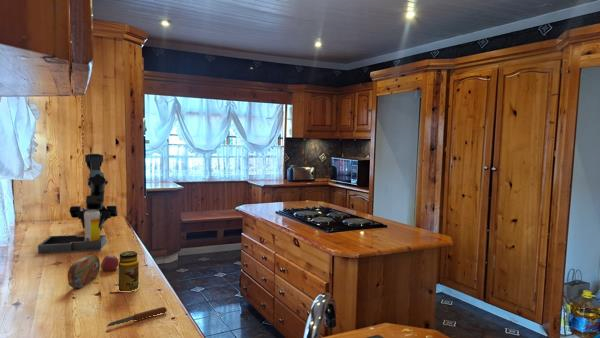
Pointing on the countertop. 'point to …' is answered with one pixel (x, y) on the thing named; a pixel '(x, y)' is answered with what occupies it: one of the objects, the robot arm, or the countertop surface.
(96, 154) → the robot arm
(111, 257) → the fruit
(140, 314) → the kitchen knife
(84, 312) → the countertop surface
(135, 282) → the condiment
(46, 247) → the keyhole plate
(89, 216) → the beer can
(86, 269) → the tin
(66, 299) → the countertop surface
